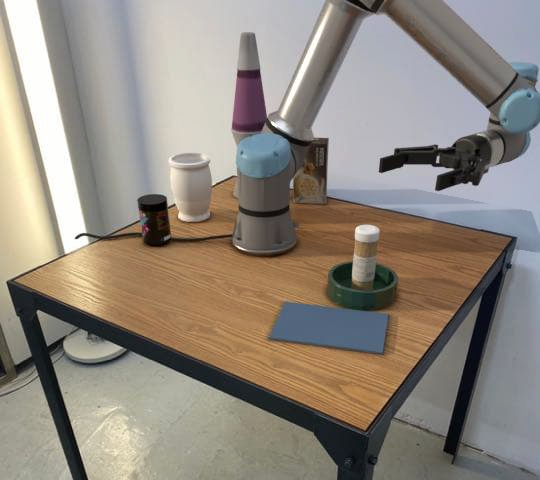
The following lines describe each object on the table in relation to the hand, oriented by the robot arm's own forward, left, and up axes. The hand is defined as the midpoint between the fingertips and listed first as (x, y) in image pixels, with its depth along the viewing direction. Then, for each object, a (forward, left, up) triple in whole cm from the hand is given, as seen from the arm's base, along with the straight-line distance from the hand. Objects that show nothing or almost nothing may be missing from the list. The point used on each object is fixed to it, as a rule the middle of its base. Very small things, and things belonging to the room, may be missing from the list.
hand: (407, 174), depth 106 cm
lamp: (-43, +43, -22) cm, 65 cm away
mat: (-10, -22, -22) cm, 33 cm away
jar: (-53, +23, -22) cm, 62 cm away
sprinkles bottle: (-6, -8, -22) cm, 24 cm away
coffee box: (-26, +42, -22) cm, 54 cm away
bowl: (-6, -8, -22) cm, 24 cm away
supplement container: (-56, +6, -22) cm, 60 cm away
